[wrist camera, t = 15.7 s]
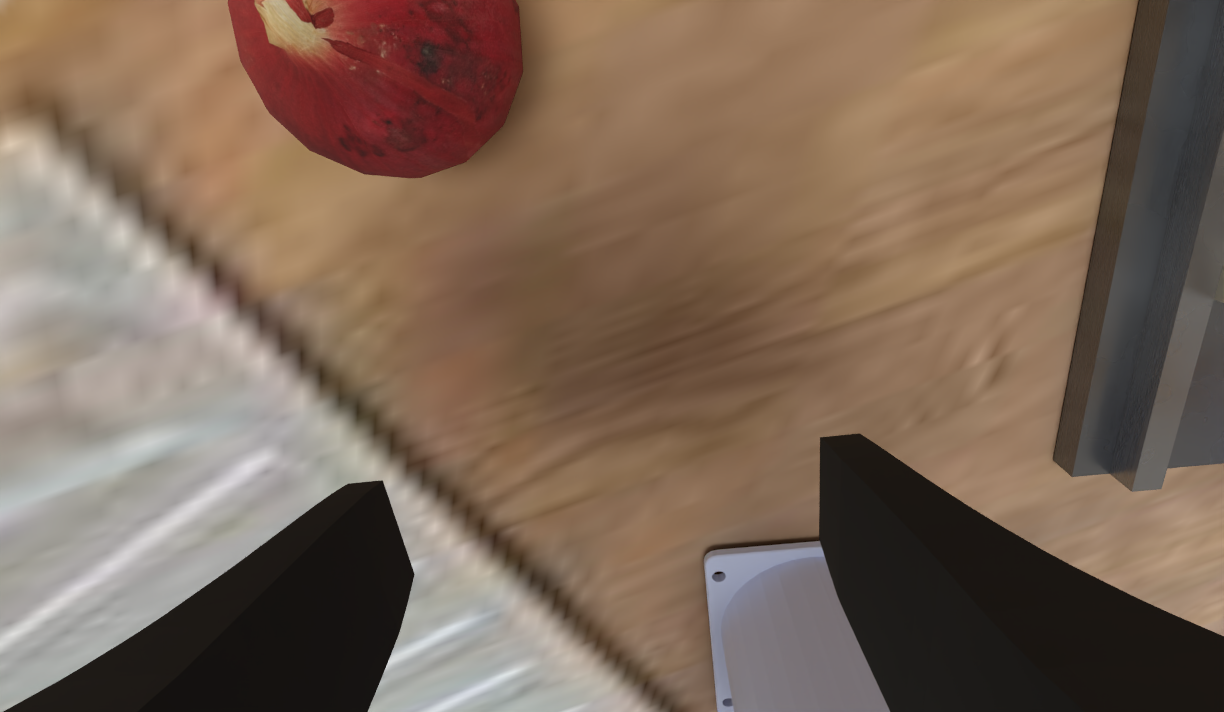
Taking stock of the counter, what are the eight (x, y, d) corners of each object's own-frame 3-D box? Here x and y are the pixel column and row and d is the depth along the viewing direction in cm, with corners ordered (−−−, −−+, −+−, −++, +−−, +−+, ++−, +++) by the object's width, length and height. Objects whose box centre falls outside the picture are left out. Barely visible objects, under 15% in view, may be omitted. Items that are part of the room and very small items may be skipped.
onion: (573, -16, 16) (528, -98, 9) (502, 190, 18) (419, 262, 11) (356, -122, 15) (109, -307, 8) (309, 107, 18) (81, 126, 10)
